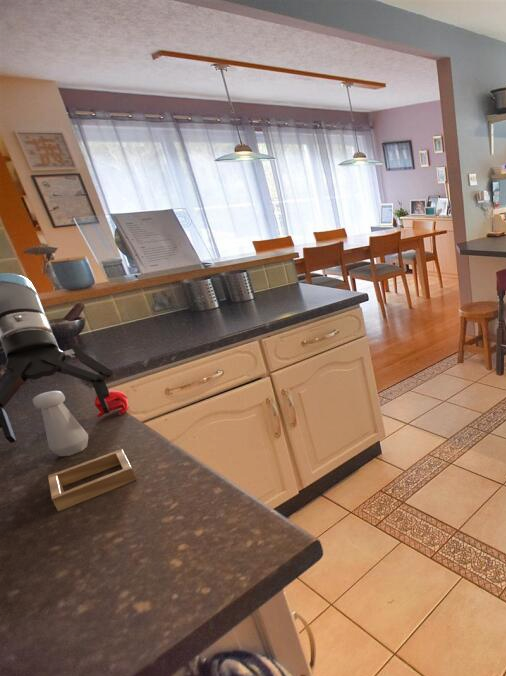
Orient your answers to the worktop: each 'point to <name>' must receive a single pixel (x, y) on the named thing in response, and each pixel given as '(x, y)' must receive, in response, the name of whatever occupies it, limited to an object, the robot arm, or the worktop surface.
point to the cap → (113, 402)
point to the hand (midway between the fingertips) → (61, 424)
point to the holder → (93, 487)
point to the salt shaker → (60, 424)
